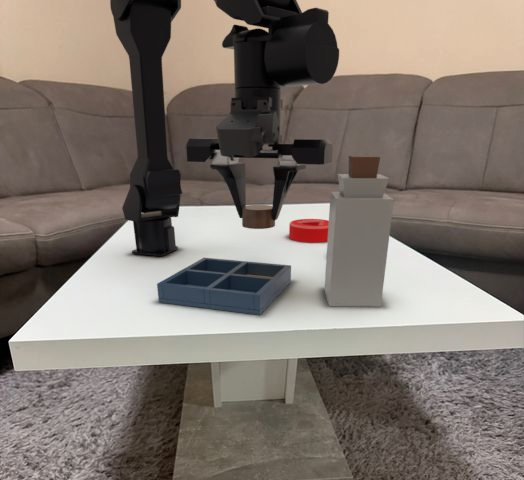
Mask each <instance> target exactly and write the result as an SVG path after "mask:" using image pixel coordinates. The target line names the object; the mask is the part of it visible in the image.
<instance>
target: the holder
mask: <svg viewBox="0 0 524 480" xmlns="http://www.w3.org/2000/svg"><path fill="white" fill-rule="evenodd" d="M291 282H292V265H290V264H280V263H270V262H269V263H268V262H257V261H246V260H236V259H226V258H225V259H223V258H214V257H213V258H212V257H202V258H200V259H198V260H196V261H195V262H193V263H191V264H189V265H188V266H186V267H184V268H182V269H181V270H179V271H177V272H176V273H173V274H172V275H170V276H169V277H167V278H165V279H163V280H161V281H160V282H157V283H156V289H157V297H158V303H160V304H161V303H162V304H171V305H178V306H187V307H194V308H200V309H201V308H202V309H211V310H217V311H225V312H226V311H227V312H234V313H240V314H241V313H242V314H249V315H259V316H260V315H262V313H264V311H265V310H266V309H268V307H269V306H270V305H271V304H272V303H273V302H274V301H275V299H277V297H278V296H279V295H280V294H281V293H282V292H283V291H284V290H285V289H286V288H287V286H288V285H290V284H291Z"/></svg>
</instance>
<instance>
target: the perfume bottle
mask: <svg viewBox="0 0 524 480" xmlns="http://www.w3.org/2000/svg"><path fill="white" fill-rule="evenodd" d="M380 161H381V156H378V155H348V173H337V178H338V186H339V187H338V188H339V191H330V195H329V196H330V197H329V211H328V221H329V226H328V241H327V242H326V257H325V260H326V261H325V275H324V293H325V296H326V300H327V303H328V307H365V308H367V307H373V308H374V307H377V308H381V307H382V299H383V291H384V283H385V277H386V276H385V275H386V268H387V267H386V266H387V259H388V250H389V243H390V242H389V241H390V235H391V234H390V233H391V226H392V219H393V218H392V217H393V210H394V209H393V208H394V201H395V199H394V198H392V197H391V196H390V195H388V194H386V193H385V191H386V188H387V187H388V186H387V185H388V183H389V180H390V178H389V177H387V176H385V175H383V174H380V173H378V172H379V166H380Z"/></svg>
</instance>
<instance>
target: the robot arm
mask: <svg viewBox="0 0 524 480" xmlns="http://www.w3.org/2000/svg"><path fill="white" fill-rule="evenodd" d="M213 2H214V3H215V5H216V7H217V9H219V10H221V11H222V12H223V13H225V14H226V15H227V16H229V17H230V18H231V19H233V20H236V21H241V22H244V23H246V24H247V25H248V26H254V27H257V28H253V29H249V28H248V26H245V25H239V24H233V25H232V27H231V30H230V31H229V33H228V34H227V35H226V36H225V37H224V39H223V40H222V42H221V46H222V48H223V49H228V50H233V68H234V69H233V70H234V71H233V73H234V76H233V77H234V97H231V100H230V112H229V115H226V116H225V117H224V118H223V119H222V120H221V121H220V122H219V123H218V124H217V125H216V126H215V129H216V135H217V137H197V138H196V137H195V138H193V137H192V138H188V140H187V141H186V143H185V145H184V159H185V160H184V161H185V162H187V163H188V162H190V163H207V162H208V161H209V160H211V163H212V164H210V165H209V167H210V169H211V170H216V171H217V172H218V173H219V174H220V175H221V176H222V178H223V180H224V181H225V183H226V185H227V187H228V190H229V193H230V195H231V198H232V201H233V204H234V207H235V210H236V212H237V215H238V217H239V219H242V207H244V206H247V202H246V201H247V199H246V197H247V196H246V162H239V160H240V159H278V162H279V164H278V165H275V166H273V167H272V171H273V176H274V185H273V196H272V197H273V198H272V206H273V207H272V213H273V220H275V221H277V220H278V219H279V217H280V214H281V211H282V209H283V206H284V203H285V200H286V198H287V195H288V192H289V190H290V187H291V186H292V184H293V182H294V179H295V178H296V176H297V174H298V172H299V171H302V170H305V169H307V165H319V166H321V165H327V164H329V163H332V162H333V149H334V147H333V142H332V141H331V140H330V139H329V138H295V139H293V142H292V143H283V135H282V134H281V109H283V108H284V106H283V101H284V100H283V99H281V97H282V96H281V95H282V90H281V89H282V87H283V88H291V87H301V86H315V85H324V84H327V83H328V82H330V81H331V80H332V79H333V78H334V76H335V74H336V72H337V68H338V65H339V60H340V48H339V47H338V41H337V37H336V34H335V32H334V29H333V28H332V27H331V25H330V24H329V15H330V13H329V11H328V9H323V8H319V7H312V8H308V9H306V10H305V11H302V9H301V7H300V5H299V3H298V0H213ZM109 4H110V5H109V6H110V12H111V15H112V17H113V23H114V30H115V34H116V36H117V38H118V40H119V42H120V44H121V45H122V47H123V49H124V50H125V52H126V54H127V56H128V60H129V61H128V62H129V71H130V83H131V92H132V93H131V95H132V106H133V115H134V116H133V117H134V127H135V128H134V129H135V139H136V150H137V158H136V160H135V161H134V164H133V166H132V169H131V171H130V173H129V190H128V192H127V195H126V197H125V200H124V201H123V204H122V208H121V209H122V213H123V216H124V219H125V220H127V221H130V222H132V223H133V224H132V225H133V232H134V240H135V249H133V250H132V251H131V254H132V255H141V256H153V257H164V256H166V255H168V254H170V253H173V252H174V251H177V250H178V249H179V246H177V244H176V234H175V227H174V226H173V223H172V221H173V220H172V218H179V214H180V206H181V198H182V194H183V191H182V190H183V189H182V185H181V184H182V183H181V180H182V179H181V177H182V176H181V175H182V174H181V171H180V169H178V168H177V169H175V168H174V166H173V164H172V162H171V161H170V159H169V156H168V143H167V142H168V141H167V124H166V108H165V90H164V89H165V88H164V75H163V57H164V54H165V52H166V49H167V47H168V45H169V43H170V41H171V39H172V22H173V20H174V19H175V18H176V16H177V15H178V13H179V12H180V11H181V8H182V0H110V1H109ZM265 29H267V30H265ZM265 145H267V147H268V148H263V147H264V146H265Z"/></svg>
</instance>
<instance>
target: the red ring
mask: <svg viewBox="0 0 524 480" xmlns="http://www.w3.org/2000/svg"><path fill="white" fill-rule="evenodd" d="M328 226H329V219H322V218H301V219H294V220H292V221H290V222H289V229H288V238H289V239H290V240H292V241H295V242H302V243H327V242H328Z"/></svg>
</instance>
